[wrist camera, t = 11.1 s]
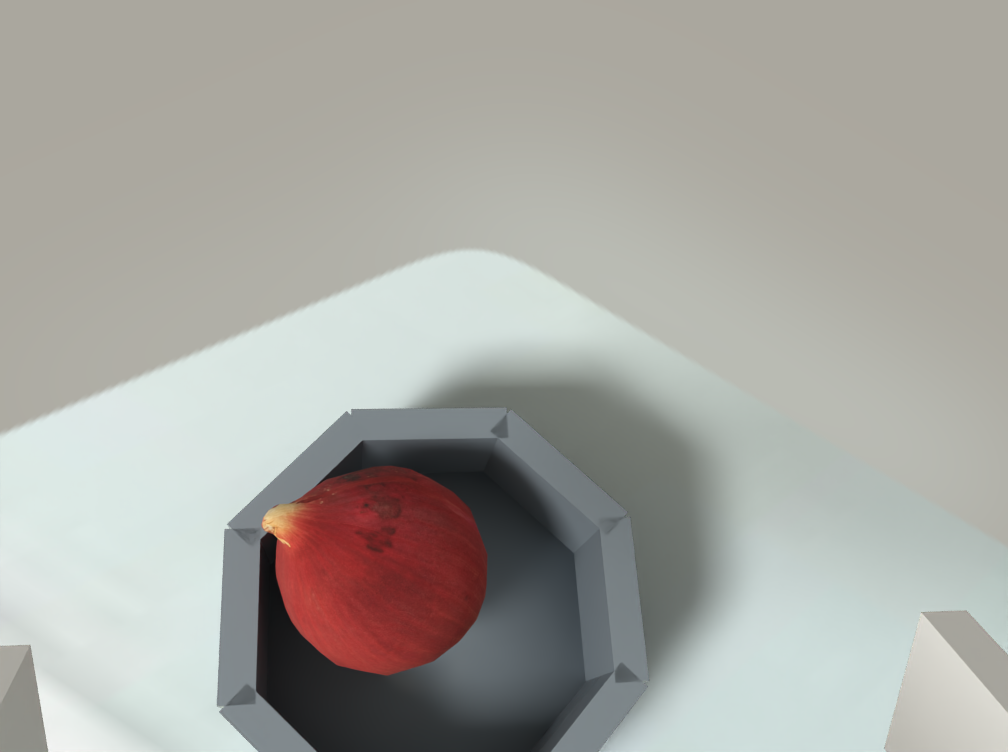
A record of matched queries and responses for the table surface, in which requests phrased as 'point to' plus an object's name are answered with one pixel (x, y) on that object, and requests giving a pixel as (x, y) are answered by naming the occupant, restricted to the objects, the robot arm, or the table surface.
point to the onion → (379, 568)
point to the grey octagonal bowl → (501, 621)
